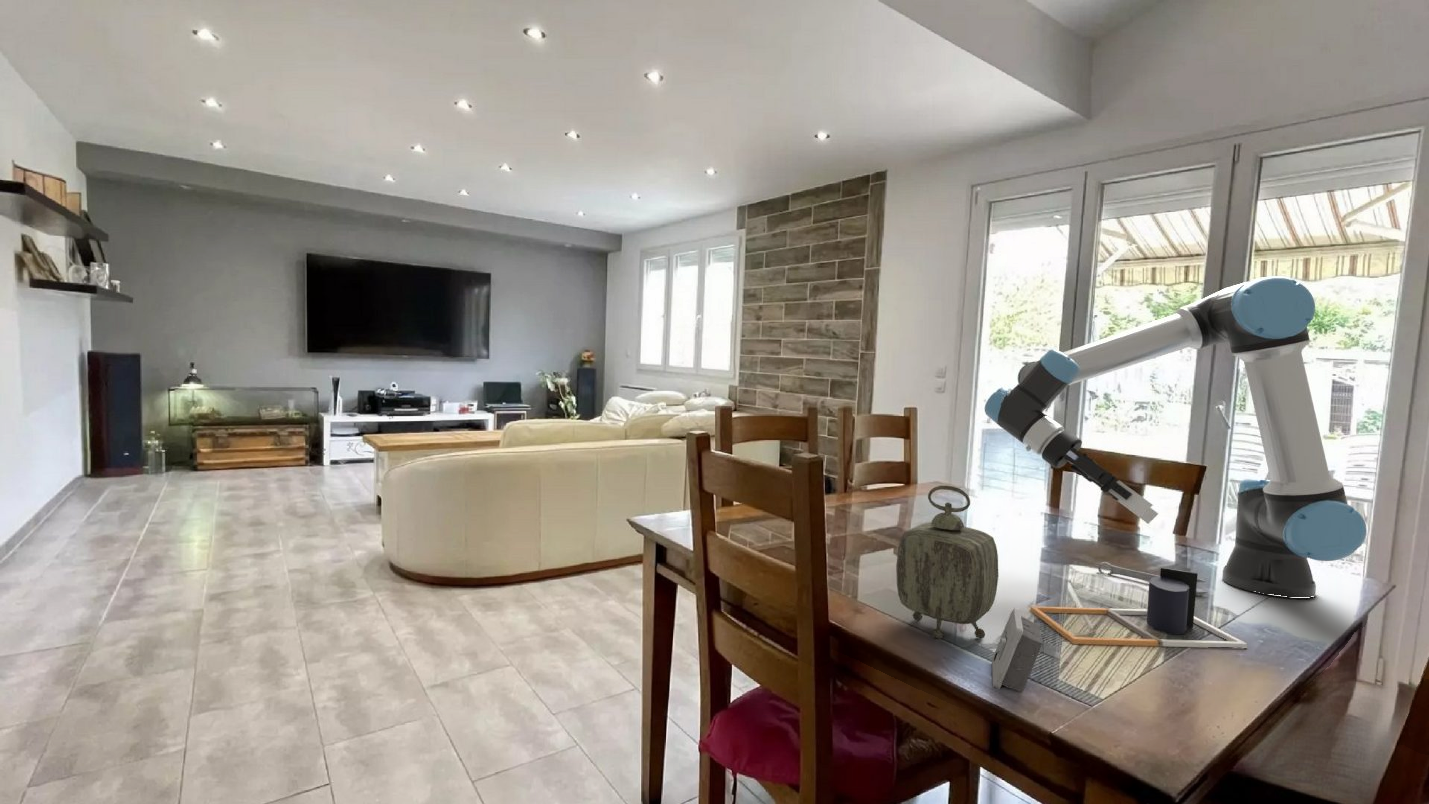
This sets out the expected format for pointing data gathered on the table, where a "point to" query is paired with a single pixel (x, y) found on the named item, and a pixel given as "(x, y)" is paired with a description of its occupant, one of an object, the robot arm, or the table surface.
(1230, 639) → the rectangular frame
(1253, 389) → the robot arm
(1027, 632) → the electrical switch
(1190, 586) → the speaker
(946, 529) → the tabletop clock
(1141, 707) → the table surface
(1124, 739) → the table surface
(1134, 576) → the combination wrench
